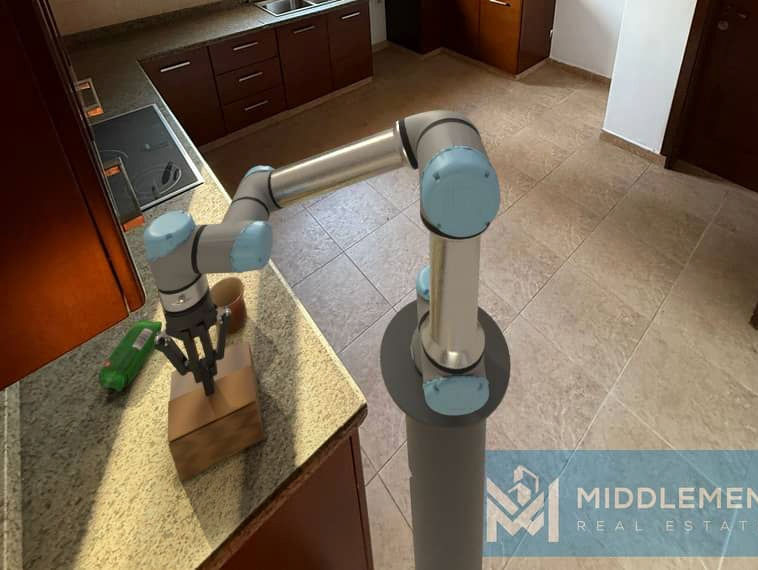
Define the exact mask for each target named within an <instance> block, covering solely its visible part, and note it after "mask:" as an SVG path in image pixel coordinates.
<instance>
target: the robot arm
mask: <svg viewBox="0 0 758 570" xmlns="http://www.w3.org/2000/svg"><path fill="white" fill-rule="evenodd" d="M403 168H408V169H410V170H412V171H415V170H418V178H419V179H418V180H419V181H418V182H419V216H420V220H421V221H420V222H421V223H422V225H423V226H424V228H425V229H426V230H427V231H428V233H429V234H428V237H429V238H428V242H429V243H428V248H429V254H428V255H429V258H428V259H429V263H428V264H426V265H425V266H424V267H423V268H421V269H420V270H419V272H418V274H417V276H416V281H415V282H416V283H415V288H414V289H415V292H416V299H417V313H418V326H417V328H416V330H415V332H414V334H413V338H412V342H411V354H412V360H413V363H414V366H415V368H416V370H417V371H418V373H419V374H420V375H421V376H422V377H423V390H424V394H425V400H426V403H427V404H428V406H429V407H430V408H431V409H433V410H434V411H436V412H439V413H441V414H445V415H463V414H468V413H471V412H474V411H475V410H478V409H480V408H481V407H482V406H483V405H484V404H485V403H486V402H487V400H488V397H489V388H488V384H489V382H488V380H487V379H486V373H485V367H484V349H485V336H484V331H483V328H482V326H481V324H480V322H479V321H478V320H477V314H478V306H479V292H480V291H479V290H480V289H479V288H480V267H481V264H480V263H481V243H482V241H481V240H482V235H483V234H485V233H486V232H487V231H488V229H489V227H490V226H491V223H492V222H494V220H495V218H496V217H497V214H498V212H499V210H500V207H501V189H500V182H499V178H498V174H497V172H496V170H495V168H494V166H493V164H492V163H491V161H490V158H489V155H488V153H487V151H486V148H485V145H484V143H483V141H482V136H481V134H480V131H479V130H478V128H477V127H476V125H475V124H474V123H473V121H471V120H470V119H469V118H468V117H466V116H465V115H463V114H461V113H460V112H456V111H452V110H447V109H437V110H436V109H435V110H429V111H423V112H419V113H416V114H412V115H410V116H407V117H403V118H401V119H399V120H397V121H396V122H395V124H394V126H393V127H392V128H389V129H386V130H383V131H381V132H377V133H375V134H372V135H369V136H365V137H363V138H360V139H358V140H355V141H352V142H349V143H347V144H343V145H340V146H338V147H335V148H333V149H329V150H327V151H323V152H321V153H318V154H314V155H312V156H310V157H306V158H304V159H301V160H298V161H296V162H293V163H290V164H287V165H284V166H281V167H278V168H273V167H272V166H269V165H258V166H257V165H256V166H254V167H252V168H250V169H249V170H248V171H247V172H246V173H245V175H244V177H243V178H242V180H241V181H240V182H239V185H238V187H237V189H236V192H235V194H234V196H233V197H232V200H231V202H230V204H229V206H228V208H227V210H226V212H225V214H224V216H223V218H222V220H221V222H220V223H209V224H208V223H207V224H196V221H195V220H194V218H193V215H192V214H191V213H190V212H187V211H185V210H171V211H167V212H165V213H163V214H161V215H159V216H158V217H156V218H155V219H153V220H152V221H151V222H150V223H149V224H148V226H147V227H146V228H145V230H144V232H143V238H142V241H143V244H144V250H145V258H146V260H147V262H148V265H149V268H150V271H151V274H152V276H153V279H154V285H155V289H156V292H157V296H158V299H159V303H160V306H161V309H162V313H163V316H164V320H165V329H164V330H161V331H160V332H157V333H156V334H155V340H154V348H153V350H156V351H158V352H161V353H162V354H163V355H164V356H165V358H166V359H167V360H168V361H169V362H170V364H171V365H172V366H173V367H174V369H175V370H177V371H178V372H179V374H180V375H181V376H184V375H186V374H187V373H188V372H192V373H193V375H194V379H195V382H196V383H200V382H202V383H203V387H204V391H205V394H206V397H207V396H209V395H211V394H214V393H215V390H214V377H213V376H215V375H217V363H216V361H217V360H221V359H223V358H224V352H225V349H226V343H227V334H226V333H227V326H228V324H229V322H230V320H231V318H232V317H231V306H230V305H227V306H225V307H224V309H220V308H217V305H216V304H214V303H213V301H212V297H211V292H210V289H211V288H210V285H209V281H208V276H207V275H211V274H243V273H247V272H253V271H260V270H263V269H264V268H266V266H267V265H268V263H269V262H270V259H271V256H272V248H273V244H274V234H273V228H272V226H271V224H270V223H269V222H268V221H269V218H270V216H271V214H272V213H274V212H276V211H280V210H283V209H285V208H288V207H291V206H295V205H297V204H300V203H304V202H306V201H309V200H312V199H315V198H318V197H320V196H324V195H327V194H330V193H333V192H335V191H338V190H341V189H344V188H347V187H350V186H353V185H356V184H359V183H362V182H365V181H368V180H371V179H374V178H377V177H380V176H382V175H386V174H389V173H392V172H395V171H399V170H401V169H403ZM216 317H217V319H218V322H219V328H218V329H217V338H216V339H217V340H216V347H215V348H214V345H213V342H212V337H211V333H210V329H211V327H212V326H211V325H212V324H213V322H214V320H215V318H216ZM173 338H174V339H176V340H179V341H180V342H182V344H183V347H184V350H185V352H186V354H185V353H184V352H183V350H182V349H181V348H180V346H179V345H178V344H177V342H176V341H175V340H174V339H173ZM196 338H199V342H200V344H201V347H202V350H203V353H204V354H203V355H204V356H203V357H200V353H199V351H198V348H197V344H196V340H195V339H196ZM199 360H200V361H199Z"/></svg>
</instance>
